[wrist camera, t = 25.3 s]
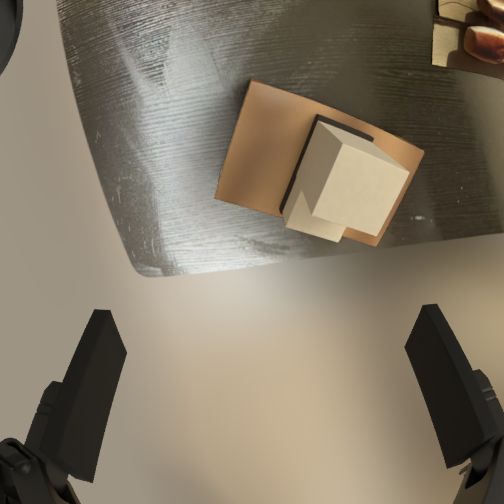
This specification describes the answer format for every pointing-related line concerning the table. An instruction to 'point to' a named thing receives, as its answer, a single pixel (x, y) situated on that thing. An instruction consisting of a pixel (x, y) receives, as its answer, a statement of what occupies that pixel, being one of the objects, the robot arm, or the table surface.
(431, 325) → the robot arm
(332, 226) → the beige block black base
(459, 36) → the ballet pointe shoes
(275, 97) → the shoe shelf
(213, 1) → the table surface
